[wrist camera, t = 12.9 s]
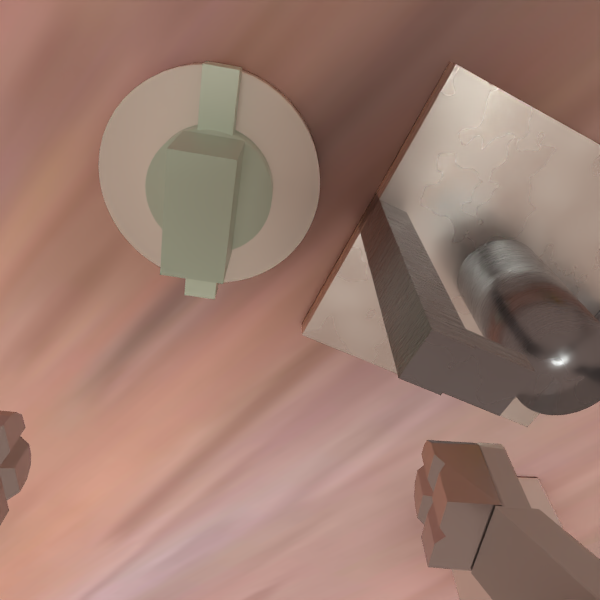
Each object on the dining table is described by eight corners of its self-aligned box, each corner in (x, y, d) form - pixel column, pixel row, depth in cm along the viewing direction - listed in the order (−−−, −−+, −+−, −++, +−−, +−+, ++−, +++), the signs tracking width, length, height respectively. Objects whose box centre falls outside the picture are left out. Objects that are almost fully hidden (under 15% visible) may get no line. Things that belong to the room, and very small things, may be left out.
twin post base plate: (449, 61, 26) (582, 114, 14) (703, 203, 29) (992, 347, 17) (301, 324, 33) (303, 514, 21) (520, 414, 36) (633, 623, 24)
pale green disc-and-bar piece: (290, 75, 25) (288, 91, 21) (257, 293, 30) (250, 343, 26) (157, 51, 24) (126, 62, 20) (148, 277, 30) (122, 324, 25)
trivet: (144, 18, 25) (138, 19, 24) (357, 126, 27) (359, 131, 26) (81, 224, 30) (73, 232, 29) (266, 301, 32) (265, 311, 31)
